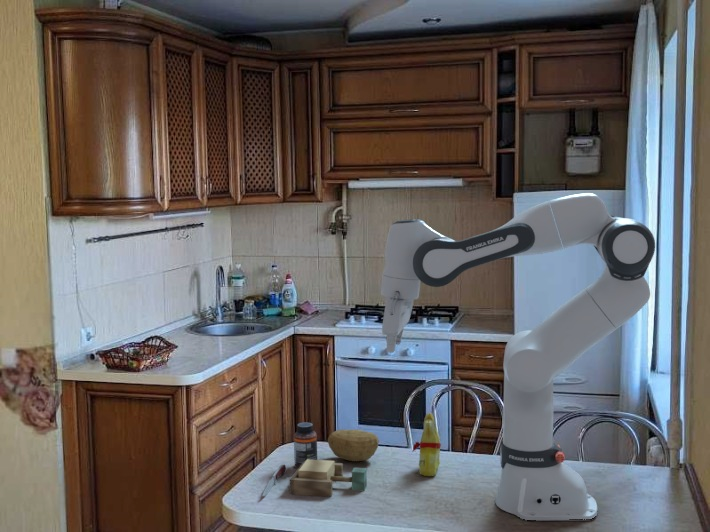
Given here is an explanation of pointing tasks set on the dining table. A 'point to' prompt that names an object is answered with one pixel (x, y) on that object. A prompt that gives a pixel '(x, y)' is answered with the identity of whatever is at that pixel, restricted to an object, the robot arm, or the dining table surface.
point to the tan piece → (313, 483)
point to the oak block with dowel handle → (332, 473)
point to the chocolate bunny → (429, 447)
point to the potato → (353, 444)
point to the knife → (274, 478)
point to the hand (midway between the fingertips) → (393, 347)
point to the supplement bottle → (304, 443)
